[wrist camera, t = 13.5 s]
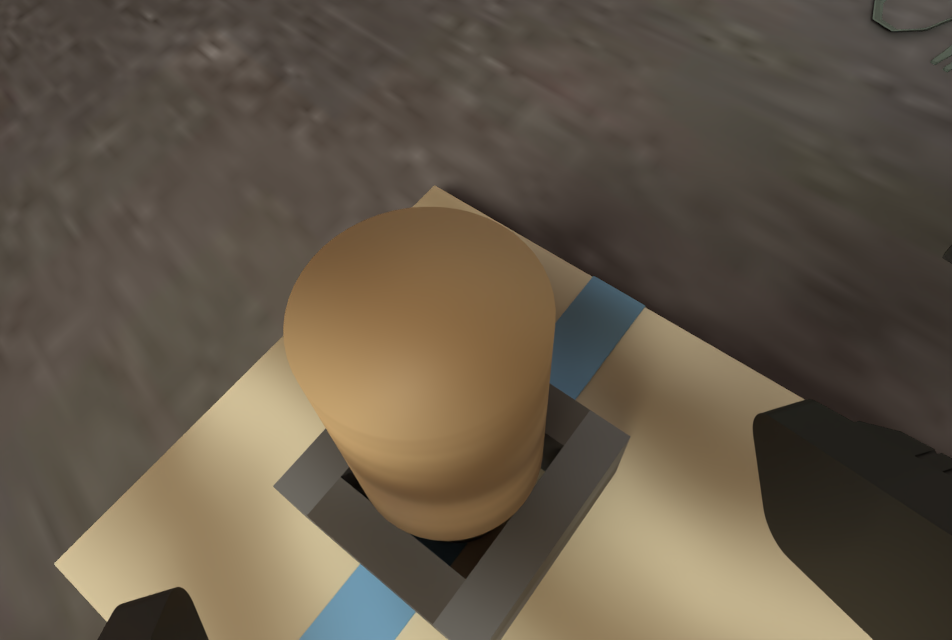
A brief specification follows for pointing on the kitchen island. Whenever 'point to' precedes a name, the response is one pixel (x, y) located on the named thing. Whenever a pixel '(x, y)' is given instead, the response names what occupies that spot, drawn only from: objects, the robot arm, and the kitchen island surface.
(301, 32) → the kitchen island surface
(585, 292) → the board
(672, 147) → the kitchen island surface
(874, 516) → the robot arm
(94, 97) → the kitchen island surface
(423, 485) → the wooden tool handle
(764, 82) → the kitchen island surface
